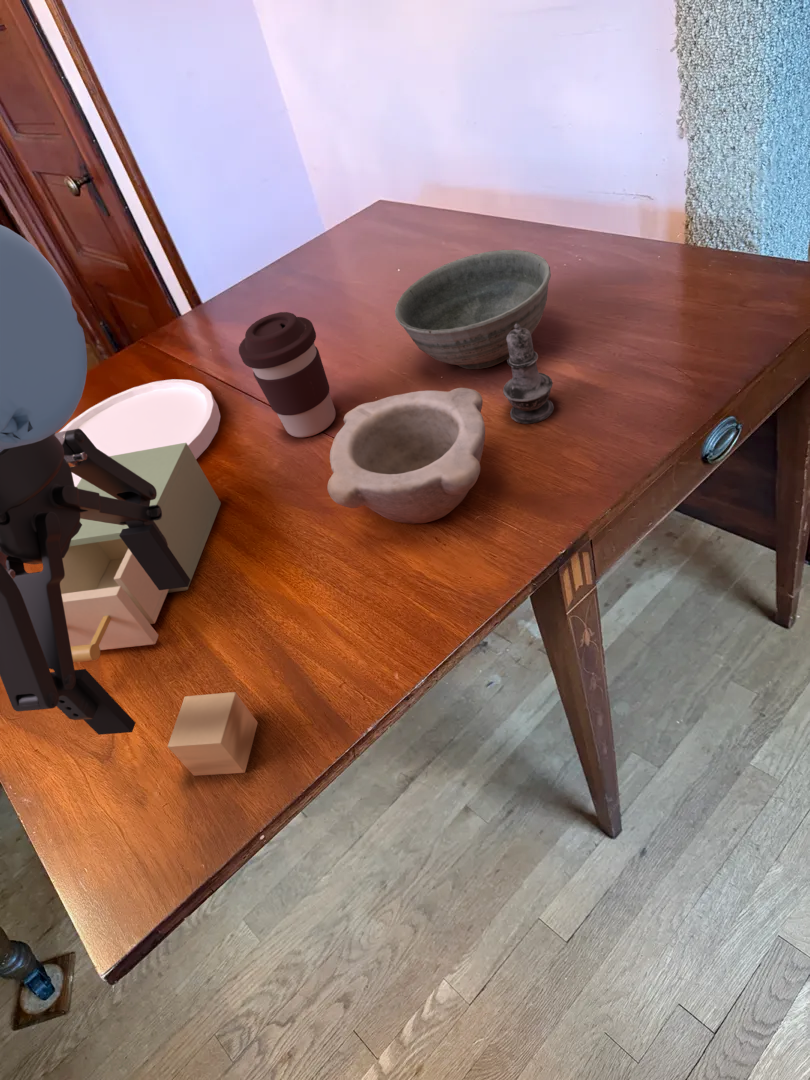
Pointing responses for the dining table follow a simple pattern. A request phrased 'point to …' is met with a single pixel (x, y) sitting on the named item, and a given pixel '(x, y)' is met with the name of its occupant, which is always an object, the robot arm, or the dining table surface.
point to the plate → (151, 419)
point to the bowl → (475, 306)
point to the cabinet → (165, 503)
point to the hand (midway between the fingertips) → (148, 651)
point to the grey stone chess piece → (526, 380)
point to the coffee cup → (290, 372)
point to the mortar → (409, 454)
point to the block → (213, 734)
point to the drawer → (107, 599)
